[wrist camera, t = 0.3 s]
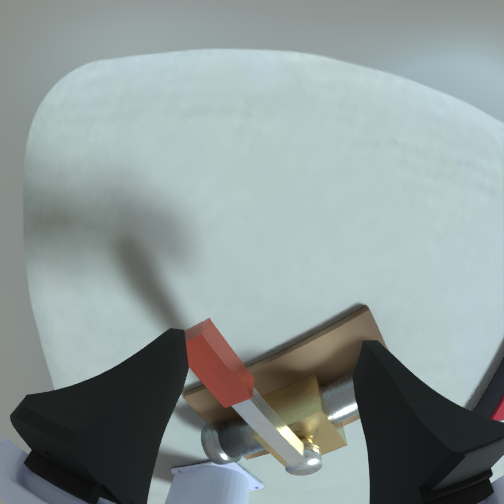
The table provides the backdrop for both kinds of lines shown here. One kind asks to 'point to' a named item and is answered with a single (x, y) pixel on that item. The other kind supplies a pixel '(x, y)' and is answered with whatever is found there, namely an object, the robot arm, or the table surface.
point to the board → (299, 365)
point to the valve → (289, 420)
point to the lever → (245, 396)
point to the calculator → (493, 397)
